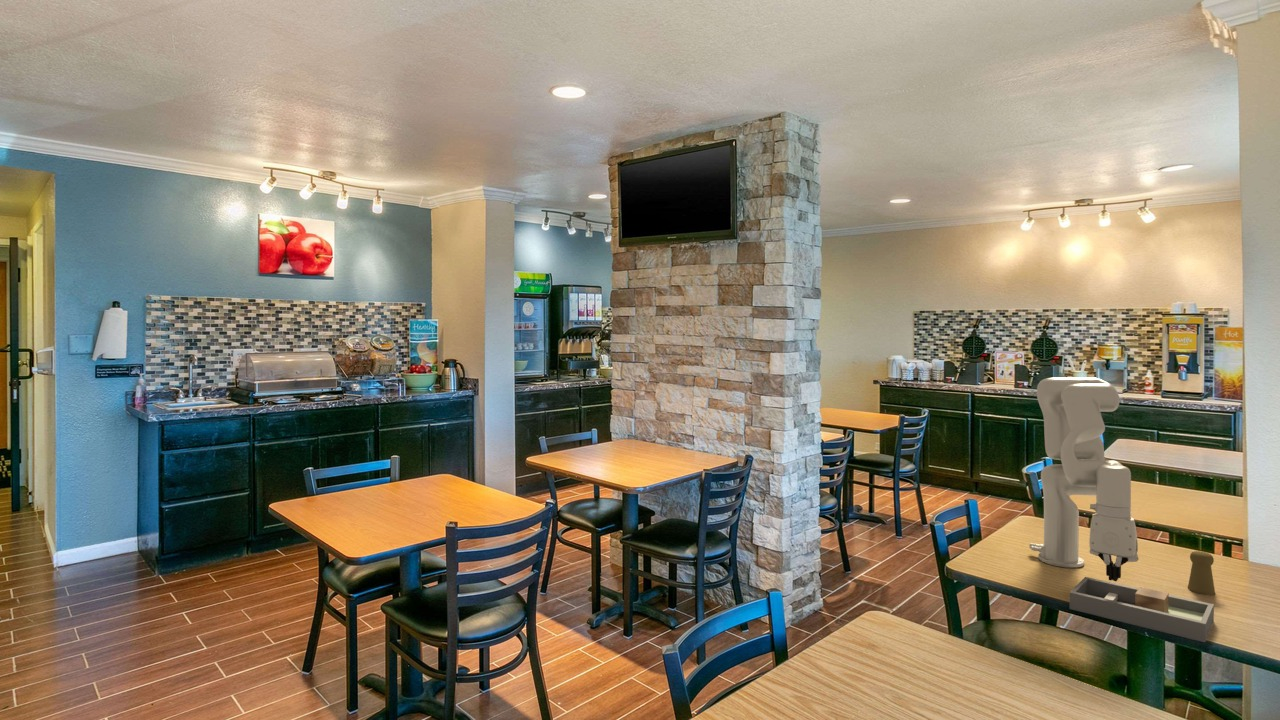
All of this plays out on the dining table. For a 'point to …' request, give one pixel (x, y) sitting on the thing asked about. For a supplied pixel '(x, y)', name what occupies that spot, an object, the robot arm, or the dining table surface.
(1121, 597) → the channel
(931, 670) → the dining table surface
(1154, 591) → the walnut block
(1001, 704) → the dining table surface
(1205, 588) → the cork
